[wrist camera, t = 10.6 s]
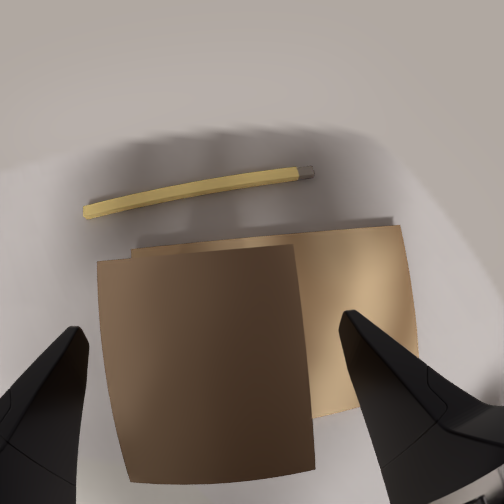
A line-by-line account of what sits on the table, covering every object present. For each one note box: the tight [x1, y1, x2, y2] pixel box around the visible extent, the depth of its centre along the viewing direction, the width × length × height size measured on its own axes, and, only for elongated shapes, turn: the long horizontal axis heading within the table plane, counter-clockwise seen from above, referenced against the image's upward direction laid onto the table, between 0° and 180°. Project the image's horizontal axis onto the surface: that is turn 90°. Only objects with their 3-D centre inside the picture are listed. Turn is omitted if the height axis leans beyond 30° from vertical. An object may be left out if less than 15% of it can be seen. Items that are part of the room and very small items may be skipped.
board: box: [131, 225, 419, 419], centre depth 16 cm, size 17×11×1 cm, turn 97°
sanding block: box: [97, 244, 316, 485], centre depth 11 cm, size 4×6×10 cm
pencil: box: [83, 166, 315, 219], centre depth 18 cm, size 15×1×1 cm, turn 102°
